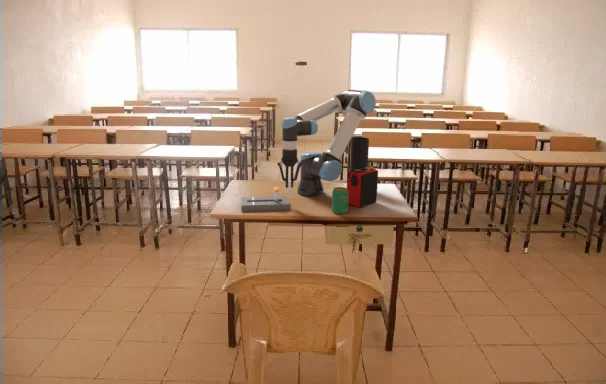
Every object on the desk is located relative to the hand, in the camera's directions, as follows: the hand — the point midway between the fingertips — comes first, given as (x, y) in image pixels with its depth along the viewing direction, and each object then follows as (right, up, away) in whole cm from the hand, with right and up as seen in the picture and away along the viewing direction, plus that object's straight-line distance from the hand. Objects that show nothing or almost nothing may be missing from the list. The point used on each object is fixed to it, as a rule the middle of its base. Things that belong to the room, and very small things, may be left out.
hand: (289, 193), depth 237 cm
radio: (+38, -5, +6) cm, 39 cm away
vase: (+40, +2, +34) cm, 52 cm away
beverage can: (+26, -9, -8) cm, 28 cm away
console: (-13, -7, 0) cm, 14 cm away
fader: (-7, -6, +1) cm, 9 cm away
